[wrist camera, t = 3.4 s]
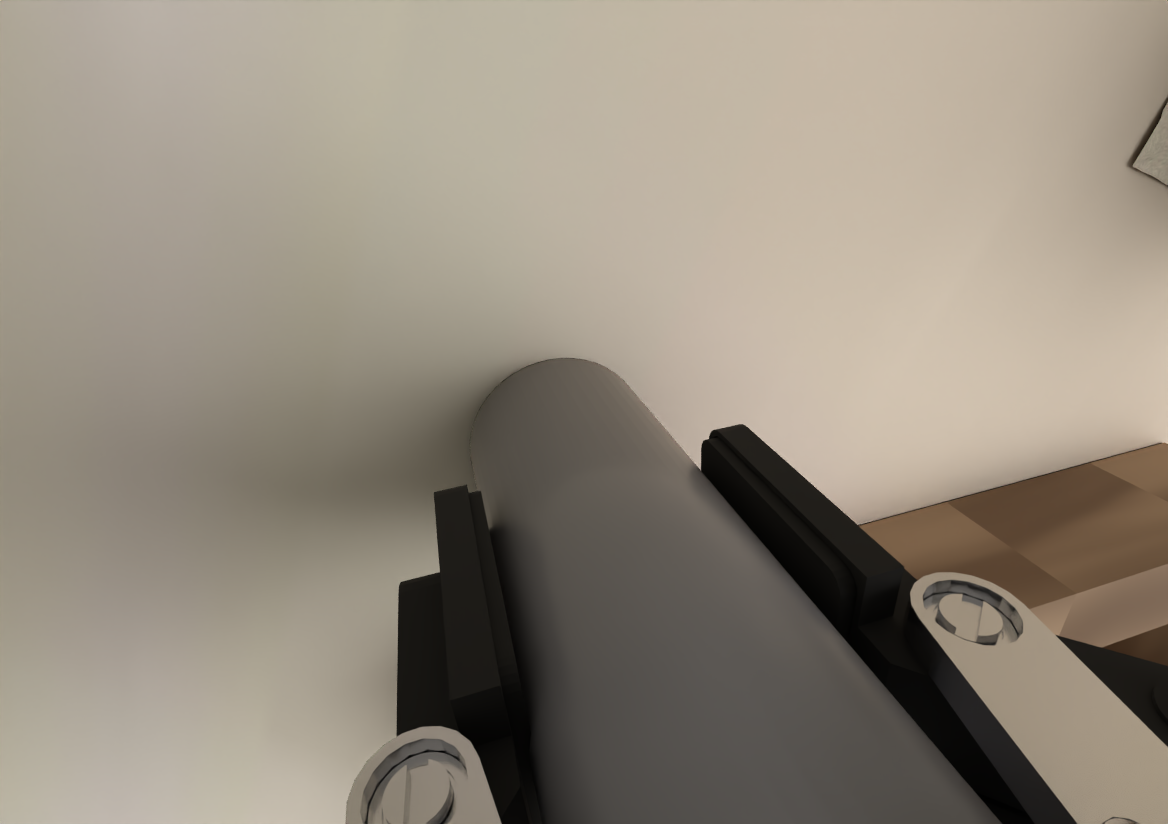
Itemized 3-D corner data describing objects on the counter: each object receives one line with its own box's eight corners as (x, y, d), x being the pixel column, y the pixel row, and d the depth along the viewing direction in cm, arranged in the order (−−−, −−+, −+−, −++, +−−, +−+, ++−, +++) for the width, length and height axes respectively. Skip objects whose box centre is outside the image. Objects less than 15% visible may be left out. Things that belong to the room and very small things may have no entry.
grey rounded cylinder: (450, 375, 12) (796, 2284, 1) (640, 341, 13) (1759, 1368, 2) (484, 533, 14) (732, 1834, 3) (647, 494, 14) (1260, 1433, 4)
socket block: (485, 627, 15) (509, 779, 11) (1164, 442, 19) (1328, 511, 16) (539, 856, 20) (566, 1007, 17) (1063, 668, 25) (1169, 757, 21)
